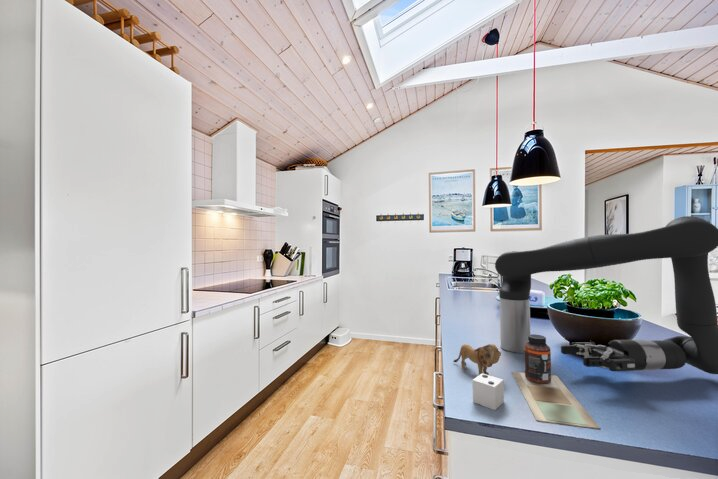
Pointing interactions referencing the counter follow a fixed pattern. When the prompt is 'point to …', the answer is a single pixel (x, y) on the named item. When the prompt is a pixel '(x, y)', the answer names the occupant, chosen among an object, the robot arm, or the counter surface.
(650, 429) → the counter surface
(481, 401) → the die
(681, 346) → the robot arm
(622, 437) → the counter surface
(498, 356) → the lion figurine
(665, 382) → the counter surface
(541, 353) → the supplement bottle
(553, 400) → the game board
